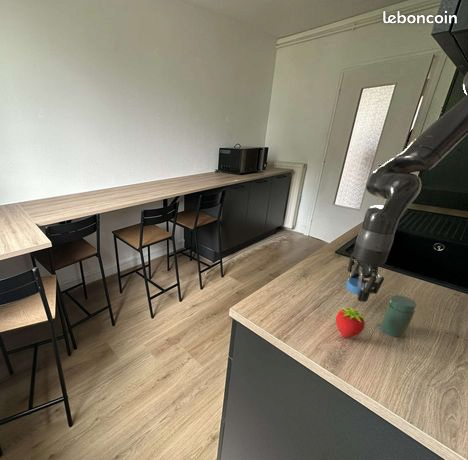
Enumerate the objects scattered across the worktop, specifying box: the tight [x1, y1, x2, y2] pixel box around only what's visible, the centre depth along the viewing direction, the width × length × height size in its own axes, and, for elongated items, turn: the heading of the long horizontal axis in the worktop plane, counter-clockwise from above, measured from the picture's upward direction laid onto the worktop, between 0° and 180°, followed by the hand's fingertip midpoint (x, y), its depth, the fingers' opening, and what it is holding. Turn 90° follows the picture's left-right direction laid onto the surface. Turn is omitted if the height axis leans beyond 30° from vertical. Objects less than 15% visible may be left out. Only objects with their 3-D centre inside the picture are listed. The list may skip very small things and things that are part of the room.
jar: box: [379, 294, 417, 339], centre depth 66 cm, size 5×5×10 cm
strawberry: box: [335, 306, 367, 339], centre depth 65 cm, size 6×8×10 cm
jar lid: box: [344, 278, 371, 296], centre depth 75 cm, size 6×6×2 cm
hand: (356, 293), depth 76 cm, fingers closed on jar lid, 6 cm apart
